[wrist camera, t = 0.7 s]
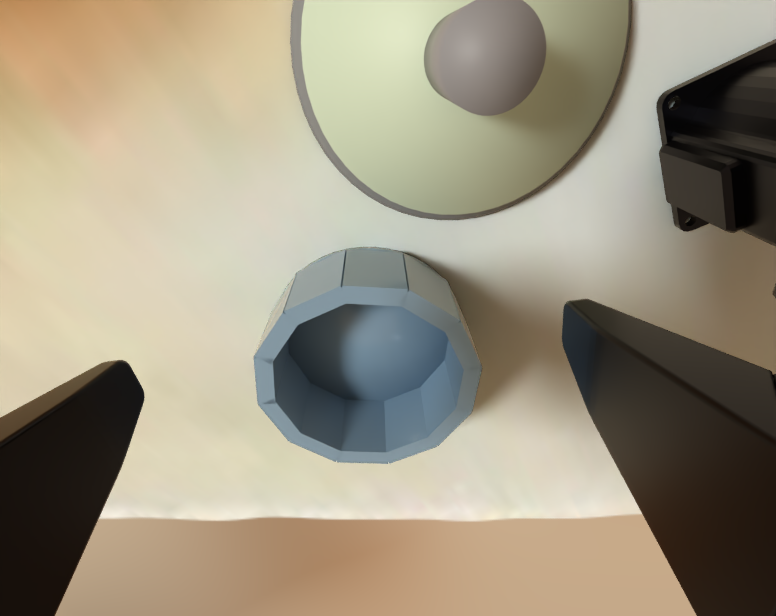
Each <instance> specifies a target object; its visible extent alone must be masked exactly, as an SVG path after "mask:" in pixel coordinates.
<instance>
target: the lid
mask: <svg viewBox="0 0 776 616" xmlns="http://www.w3.org/2000/svg"><path fill="white" fill-rule="evenodd" d="M628 10H629V0H305V1H304V7H303V13H302V27H301V52H302V65H303V72H304V77H305V83H306V88H307V92H308V96H309V99H310V102H311V105H312V108H313V112H314V114H315V116H316V119H317V121H318V123H319V125H320V128H321V130H322V132H323V134H324V136H325V137H326V139H327V141H328V142H329V144H330V146H331V147H332V149H333V151H334V152H335V153H336V154H337V156H338V157H339V158H340V160H341V161H342V162H343V163H344V165H345V166H346V167H347V168H348V169H349V170H350V171H351V172H352V173H353V174H354V175H355V176H356V177H357V178H358V179H359V180H360V181H361V182H363V183H364V184H365V185H367V186H368V187H369V188H370V189H372V190H373V191H374V192H376V193H378V194H379V195H381V196H383V197H385V198H386V199H388V200H390V201H392V202H394V203H397V204H399V205H402V206H404V207H406V208H410V209H414V210H417V211H421V212H425V213H433V214H441V215H461V214H469V213H477V212H481V211H485V210H489V209H493V208H496V207H499V206H502V205H504V204H507V203H509V202H512V201H514V200H516V199H518V198H520V197H522V196H523V195H525V194H527V193H529V192H531V191H532V190H534V189H535V188H537V187H538V186H540V185H541V184H543V183H544V182H545V181H547V180H548V179H549V178H550V177H551V176H553V175H554V174H555V173H556V172H557V171H558V170H560V169H561V168H562V167H563V166H564V165H565V164H566V163H567V162H568V161H569V159H570V158H571V157H572V156H573V155H574V154H575V153H576V152H577V151H578V149H579V148H580V147H581V145H582V144H583V143H584V141H585V140H586V139H587V138H588V136H589V135H590V133H591V132H592V130H593V128H594V127H595V125H596V123H597V122H598V120H599V119H600V117H601V115H602V113H603V111H604V109H605V107H606V105H607V103H608V100H609V98H610V96H611V94H612V91H613V88H614V86H615V83H616V80H617V77H618V74H619V71H620V67H621V63H622V59H623V55H624V50H625V45H626V37H627V29H628Z"/></svg>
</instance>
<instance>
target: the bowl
mask: <svg viewBox="0 0 776 616" xmlns="http://www.w3.org/2000/svg"><path fill="white" fill-rule="evenodd" d="M254 367H255V378H256V390H257V401H258V405H259V406H260V408H261V409H262V410H263V411H264V412H265V414H266V415H267V416H268V417H269V418H270V420H271V421H272V422H273V423H274V424H275V426H276V427H277V428H278V429H279V430H280V431H281V433H282V434H283V435H284V436H285V437H286V439H287V440H288V441H290V442H291V443H293V444H296V445H298V446H300V447H302V448H305V449H307V450H309V451H312V452H314V453H316V454H319V455H321V456H323V457H325V458H328V459H330V460H332V461H335V462H336V461H337V462H347V463H380V464H388V462H389V463H393V462H395V461H398V460H401V459H404V458H407V457H409V456H412V455H415V454H418V453H421V452H423V451H426V450H429V449H432V448H435V447H437V446H439V445H440V444H441V443H442V442H443V441H444V440H445V439H446V438H447V437H448V436H449V435H450V434H451V433H452V432H453V431H454V430H455V429H456V428H457V427H458V426H459V425H460V424H461V423H462V422H463V421H464V420H465V419H466V418H467V417H468V416H469V415H470V414H471V412H472V410H473V406H474V402H475V397H476V393H477V388H478V384H479V380H480V375H481V371H482V365H481V362H480V359H479V356H478V353H477V351H476V348H475V345H474V342H473V339H472V337H471V334H470V331H469V328H468V325H467V322H466V320H465V318H464V316H463V314H462V311H461V309H460V307H459V305H458V302H457V300H456V297H455V295H454V294H453V292H452V290H451V287H450V285H449V283H448V281H447V280H446V279H444V278H442V277H441V276H440V275H439V274H438V273H437V272H436V271H435V270H434V269H432V268H431V267H430V266H428V265H427V264H426V263H424V262H422V261H420V260H419V259H417V258H415V257H413V256H410V255H408V254H405V253H403V252H399V251H395V250H391V249H387V248H378V247H358V248H350V249H345V250H341V251H337V252H333V253H331V254H328V255H326V256H323V257H321V258H319V259H318V260H316V261H314V262H312V263H310V264H309V265H308V266H306V267H305V268H304V269H302V270H300V271H298V272H297V273H296V274H295V276H294V278H293V279H292V280H291V282H290V283H289V284H288V286H287V287H286V288H285V290H284V292H283V294H282V296H281V298H280V299H279V301H278V303H277V304H276V306H275V307H274V309H273V310H272V312H271V315H270V317H269V320H268V322H267V325H266V327H265V330H264V332H263V335H262V337H261V340H260V342H259V345H258V347H257V350H256V353H255V355H254Z"/></svg>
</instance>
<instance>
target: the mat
mask: <svg viewBox="0 0 776 616" xmlns="http://www.w3.org/2000/svg"><path fill="white" fill-rule="evenodd" d="M304 1H305V0H293V7H292V13H291V38H290V44H291V56H292V68H293V73H294V78H295V83H296V88H297V93H298V96H299V99H300V102H301V105H302V108H303V111H304V114H305V117H306V119H307V121H308V123H309V125H310V128H311V130H312V132H313V134H314V136H315V138H316V139H317V141H318V143H319V144H320V146H321V148H322V149H323V151H324V152H325V154H326V155H327V157H328V158H329V159H330V160H331V162H332V163H333V164H334V165H335V167H336V168H337V169H338V170H339V171H340V172H341V173H342V174H343V175H344V176H345V177H346V178H347V179H348V180H349V181H350V182H351V183H352V184H353V185H354V186H355V187H357V188H358V189H359V190H361V191H362V192H363V193H365V194H366V195H367V196H369V197H371V198H372V199H374V200H376V201H378V202H379V203H381V204H383V205H384V206H387V207H389V208H392V209H394V210H397V211H399V212H401V213H405V214H409V215H412V216H416V217H420V218H428V219H436V220H459V219H467V218H475V217H479V216H483V215H487V214H491V213H494V212H497V211H499V210H502V209H504V208H507V207H510V206H512V205H514V204H516V203H518V202H520V201H521V200H523V199H525V198H527V197H529V196H530V195H532V194H533V193H535V192H536V191H538V190H539V189H541V188H542V187H544V186H545V185H546V184H548V183H549V182H550V181H551V180H552V179H554V178H555V177H556V176H557V175H558V174H559V173H561V172H562V171H563V170H564V169H565V168H566V166H567V165H568V164H569V163H570V162H571V161H572V160H573V159H574V158H575V157H576V156H577V155H578V153H579V152H580V151H581V149H582V148H583V147H584V146H585V144H586V143H587V142H588V140H589V139H590V138H591V136H592V134H593V133H594V131H595V130H596V128H597V126H598V125H599V123H600V121H601V120H602V118H603V116H604V114H605V112H606V110H607V108H608V106H609V104H610V102H611V99H612V97H613V95H614V92H615V90H616V87H617V84H618V81H619V78H620V75H621V73H622V69H623V65H624V60H625V56H626V52H627V48H628V41H629V33H630V26H631V0H629V10H628V29H627V37H626V45H625V50H624V55H623V59H622V63H621V67H620V71H619V74H618V77H617V80H616V83H615V86H614V88H613V91H612V94H611V96H610V98H609V100H608V103H607V105H606V107H605V109H604V111H603V113H602V115H601V117H600V119H599V120H598V122H597V123H596V125H595V127H594V128H593V130H592V132H591V133H590V135H589V136H588V138H587V139H586V140H585V141H584V143H583V144H582V145H581V147H580V148H579V149H578V151H577V152H576V153H575V154H574V155H573V156H572V157H571V158H570V159H569V161H568V162H567V163H566V164H565V165H564V166H563V167H562V168H561V169H560V170H558V171H557V172H556V173H555V174H554V175H553V176H551V177H550V178H549V179H548V180H547V181H545V182H544V183H543V184H541V185H540V186H538V187H537V188H535V189H534V190H532V191H531V192H529V193H527V194H525V195H523V196H522V197H520V198H518V199H516V200H514V201H512V202H509V203H507V204H504V205H502V206H499V207H496V208H493V209H489V210H485V211H481V212H477V213H469V214H461V215H441V214H433V213H425V212H421V211H417V210H414V209H410V208H406V207H404V206H402V205H399V204H397V203H394V202H392V201H390V200H388V199H386V198H385V197H383V196H381V195H379V194H378V193H376V192H374V191H373V190H372V189H370V188H369V187H368V186H367V185H365V184H364V183H363V182H361V181H360V180H359V179H358V178H357V177H356V176H355V175H354V174H353V173H352V172H351V171H350V170H349V169H348V168H347V167H346V166H345V165H344V163H343V162H342V161H341V160H340V158H339V157H338V156H337V154H336V153H335V152H334V151H333V149H332V147H331V146H330V144H329V142H328V141H327V139H326V137H325V136H324V134H323V132H322V130H321V128H320V125H319V123H318V121H317V119H316V116H315V114H314V112H313V108H312V105H311V102H310V99H309V96H308V92H307V88H306V83H305V77H304V72H303V65H302V52H301V27H302V13H303V7H304Z"/></svg>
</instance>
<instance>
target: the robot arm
mask: <svg viewBox="0 0 776 616" xmlns="http://www.w3.org/2000/svg"><path fill="white" fill-rule="evenodd" d="M673 97H674V98H675V104H674V105H673V107H671V108H670V109H669V107H668V103H669V101H670V100H671V99H672V98H673ZM657 114H658V121H659V127H660V134H661V140H662V147H661V149H660V151H659V156H660V162H661V169H662V175H663V181H664V188H665V194H666V200H667V202H668V203H670V204H671V205H672V212H673V218H674V224H675V226H676V227H678V228H679V229H681V230H683V231H691V230H694V229H696V228H699V227H701V226H704V225H706V224H709V223H711V224H713V225H715V226H717V227H719V228H721V229H723V230H725V231H728V232H730V233H735V232H737V231H740V230H742V231H744V232H746V233H748V234H750V235H752V236H755V237H757V238H759V239H761V240H763V241H765V242H767V243H769V244H771V245H774V246H776V39H775V40H773V41H771V42H769V43H766V44H764V45H762V46H760V47H758V48H756V49H754V50H752V51H749V52H747V53H745V54H743V55H741V56H739V57H737V58H735V59H733V60H730V61H728V62H726V63H724V64H722V65H720V66H718V67H716V68H713V69H711V70H709V71H707V72H705V73H703V74H701V75H699V76H697V77H694V78H692V79H690V80H688V81H686V82H684V83H682V84H680V85H677V86H675V87H673V88H671V89H669V90H667V91H665V92H664V93H663V94H662V95H661V96H660V97H659V99H658V101H657ZM689 216H691V218H690V220H689V221H688V222H687V223H685V220H686V219H687V218H688V217H689ZM773 295H774V296H775V298H776V284H775V287H774V290H773ZM562 342H563V347H564V350H565V353H566V356H567V358H568V361H569V363H570V366H571V369H572V371H573V374H574V376H575V379H576V382H577V384H578V387H579V389H580V392H581V395H582V397H583V400H584V402H585V405H586V407H587V410H588V412H589V414H590V416H591V418H592V420H593V422H594V424H595V426H596V428H597V430H598V432H599V433H600V435H601V437H602V439H603V441H604V443H605V445H606V447H607V448H608V450H609V452H610V454H611V456H612V458H613V460H614V462H615V463H616V465H617V467H618V469H619V471H620V473H621V475H622V477H623V478H624V480H625V482H626V484H627V486H628V488H629V490H630V491H631V493H632V495H633V497H634V499H635V501H636V503H637V505H638V506H639V508H640V510H641V512H642V514H643V516H644V518H645V520H646V521H647V523H648V525H649V527H650V529H651V531H652V533H653V535H654V536H655V538H656V540H657V542H658V544H659V546H660V547H661V549H662V551H663V553H664V555H665V557H666V558H667V560H668V563H669V564H670V566H671V568H672V570H673V572H674V574H675V576H676V578H677V579H678V581H679V583H680V585H681V587H682V589H683V590H684V592H685V594H686V596H687V598H688V600H689V602H690V604H691V606H692V607H693V609H694V611H695V613H696V615H697V616H776V374H774V375H773V374H772V372H771V371H770V370H767V369H764V368H762V367H759V366H757V365H754V364H752V363H749V362H747V361H744V360H742V359H739V358H736V357H734V356H731V355H729V354H726V353H724V352H721V351H719V350H716V349H714V348H711V347H709V346H706V345H703V344H701V343H698V342H696V341H693V340H691V339H688V338H686V337H683V336H681V335H678V334H675V333H673V332H670V331H668V330H665V329H663V328H660V327H658V326H655V325H653V324H650V323H648V322H645V321H642V320H640V319H637V318H635V317H632V316H630V315H627V314H625V313H622V312H620V311H617V310H615V309H612V308H609V307H607V306H604V305H602V304H599V303H597V302H594V301H592V300H589V299H581V300H573V301H568V302H566V304H565V305H564V310H563V328H562ZM143 403H144V391H143V388H142V386H141V385H140V383H139V381H138V379H137V377H136V376H135V374H134V372H133V370H132V368H131V367H130V365H129V364H128V363H127V362H126V361H123V360H116V361H108V362H103V363H101V364H99V365H97V366H95V367H94V368H92V369H90V370H88V371H86V372H84V373H82V374H81V375H79V376H77V377H75V378H73V379H71V380H69V381H68V382H66V383H64V384H62V385H60V386H58V387H56V388H55V389H53V390H51V391H49V392H47V393H45V394H43V395H42V396H40V397H38V398H36V399H34V400H32V401H30V402H29V403H27V404H25V405H23V406H21V407H19V408H17V409H16V410H14V411H12V412H10V413H8V414H6V415H4V416H3V417H1V418H0V616H55V614H56V612H57V610H58V607H59V605H60V603H61V601H62V599H63V596H64V594H65V592H66V590H67V588H68V585H69V583H70V581H71V579H72V576H73V574H74V572H75V570H76V568H77V565H78V563H79V561H80V559H81V557H82V554H83V552H84V550H85V548H86V545H87V543H88V541H89V539H90V536H91V534H92V532H93V530H94V527H95V525H96V523H97V521H98V519H99V517H100V514H101V512H102V510H103V508H104V506H105V503H106V501H107V499H108V497H109V494H110V492H111V490H112V488H113V486H114V483H115V481H116V479H117V477H118V474H119V472H120V470H121V467H122V465H123V462H124V459H125V456H126V453H127V450H128V447H129V445H130V442H131V439H132V436H133V433H134V430H135V427H136V424H137V421H138V418H139V415H140V412H141V409H142V406H143Z"/></svg>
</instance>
